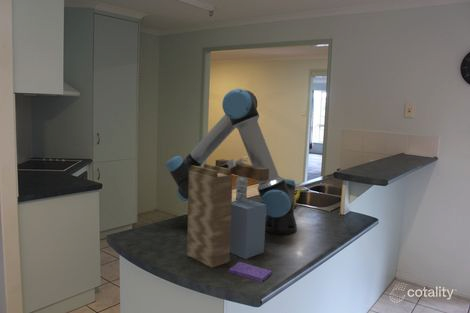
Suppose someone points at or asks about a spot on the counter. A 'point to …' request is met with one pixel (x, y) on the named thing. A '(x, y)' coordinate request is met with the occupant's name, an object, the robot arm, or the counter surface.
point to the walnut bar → (247, 170)
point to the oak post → (209, 214)
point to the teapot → (297, 195)
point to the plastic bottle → (241, 188)
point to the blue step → (247, 228)
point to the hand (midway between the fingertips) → (238, 162)
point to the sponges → (250, 271)
